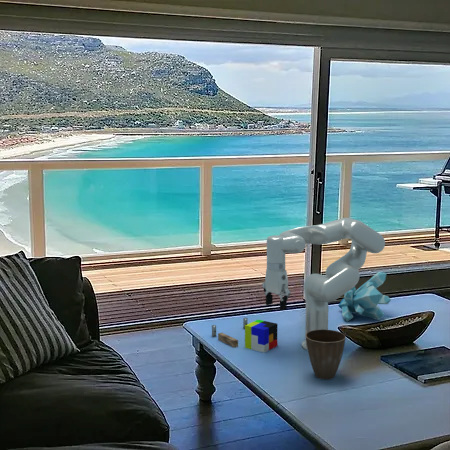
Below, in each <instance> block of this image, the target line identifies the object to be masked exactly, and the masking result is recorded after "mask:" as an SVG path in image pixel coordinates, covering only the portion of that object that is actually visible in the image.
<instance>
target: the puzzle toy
mask: <svg viewBox="0 0 450 450" xmlns="http://www.w3.org/2000/svg"><path fill="white" fill-rule="evenodd" d="M276 347H278V323H275V322H272V321H267V320H262V319H256V320H253V321H252V322H249V323H248V324H247V325H245V329H244V348H245V349H248V350H252V351H255V352H256V351H257V352H260V353H267V352H269V351H271V350H272V349H275V348H276Z"/></svg>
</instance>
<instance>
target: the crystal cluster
mask: <svg viewBox="0 0 450 450" xmlns="http://www.w3.org/2000/svg"><path fill="white" fill-rule="evenodd" d="M386 279H387V272H384V271H378V272H376V273H375V274H374V275H373V276H372V277H371V278H370V279H368V280H367V281H365V282H364V283H363V284H362V285H361V286H359V288H356V286H355V287H353V288H352V289H351V290H349V291H348V292H346V293H345V294H344V297H343V298H342V299H341V301H340V302H339V304H338V305H337V306H338V307H339V308H340V309H341V313H342V317H343V318H344V319H345V321H346V322H349V321H350V320H351V319H353V318H354V315H353V314H354V313H355V314H358V315H360V316H363V317H367V318H370V319H374V320H376V319H377V320H376V321H380V320H381V318H383V317H384V316H385V313H384V312H383V310H382V309H381V308H380V307H379V305H389V304H390V303H391V300H392V299H391V298H390V297H389V296H388V295H385V294H383V293H382V292H380V291H379V290H378V288H379V287H380V286H382V285H383V284H384V282H386Z"/></svg>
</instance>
